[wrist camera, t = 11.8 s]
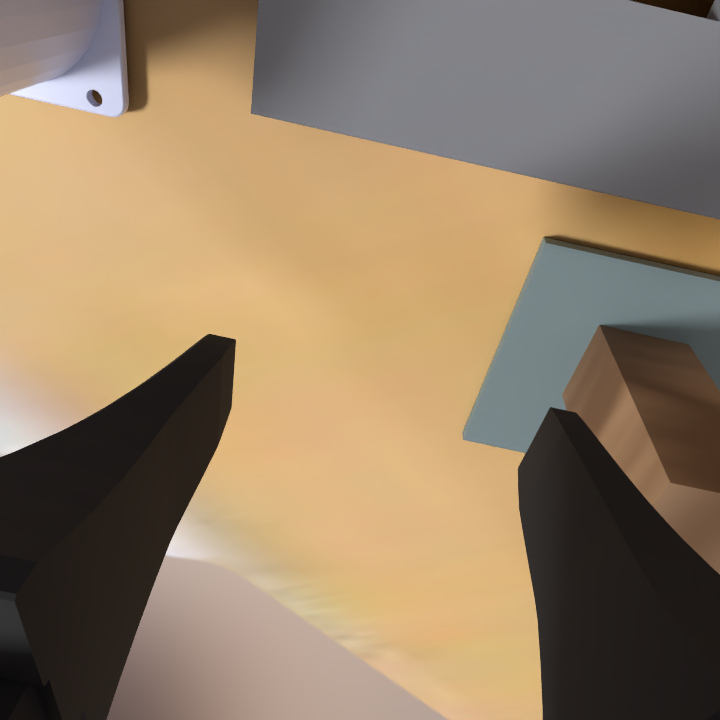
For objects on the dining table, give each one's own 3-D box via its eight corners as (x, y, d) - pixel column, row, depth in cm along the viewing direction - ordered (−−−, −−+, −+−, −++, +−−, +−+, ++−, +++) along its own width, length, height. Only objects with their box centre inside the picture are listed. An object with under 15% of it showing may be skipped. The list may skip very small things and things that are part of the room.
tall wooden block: (562, 394, 24) (610, 558, 17) (599, 324, 22) (670, 482, 15) (643, 412, 24) (722, 582, 17) (688, 344, 22) (797, 509, 15)
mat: (462, 432, 26) (463, 439, 26) (543, 236, 20) (545, 242, 20) (668, 476, 26) (671, 484, 26) (807, 296, 21) (815, 302, 20)
